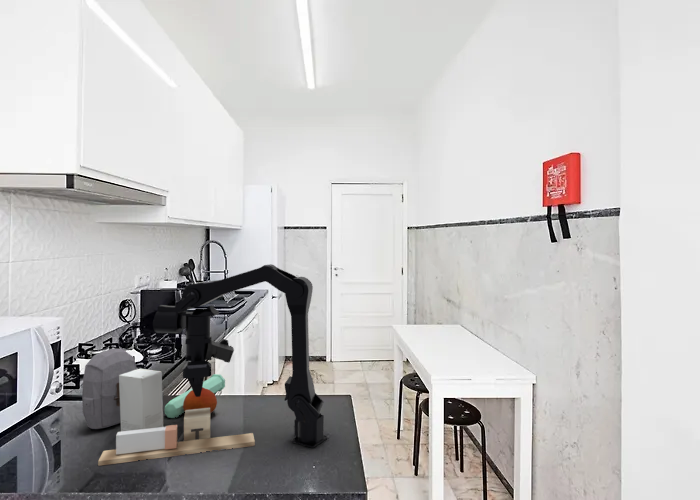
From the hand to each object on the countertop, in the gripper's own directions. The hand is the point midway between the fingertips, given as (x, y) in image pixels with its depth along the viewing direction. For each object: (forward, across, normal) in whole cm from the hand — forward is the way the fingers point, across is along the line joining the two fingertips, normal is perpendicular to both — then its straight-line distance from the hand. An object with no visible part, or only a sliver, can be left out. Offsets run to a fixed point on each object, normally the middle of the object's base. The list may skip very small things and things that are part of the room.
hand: (198, 396), depth 109 cm
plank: (+10, -7, +3) cm, 13 cm away
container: (+10, +25, +1) cm, 27 cm away
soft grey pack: (+10, +14, +22) cm, 28 cm away
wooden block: (+10, 0, 0) cm, 10 cm away
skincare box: (+10, +5, +14) cm, 18 cm away
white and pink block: (+9, -7, +11) cm, 15 cm away
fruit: (+10, +14, 0) cm, 17 cm away
